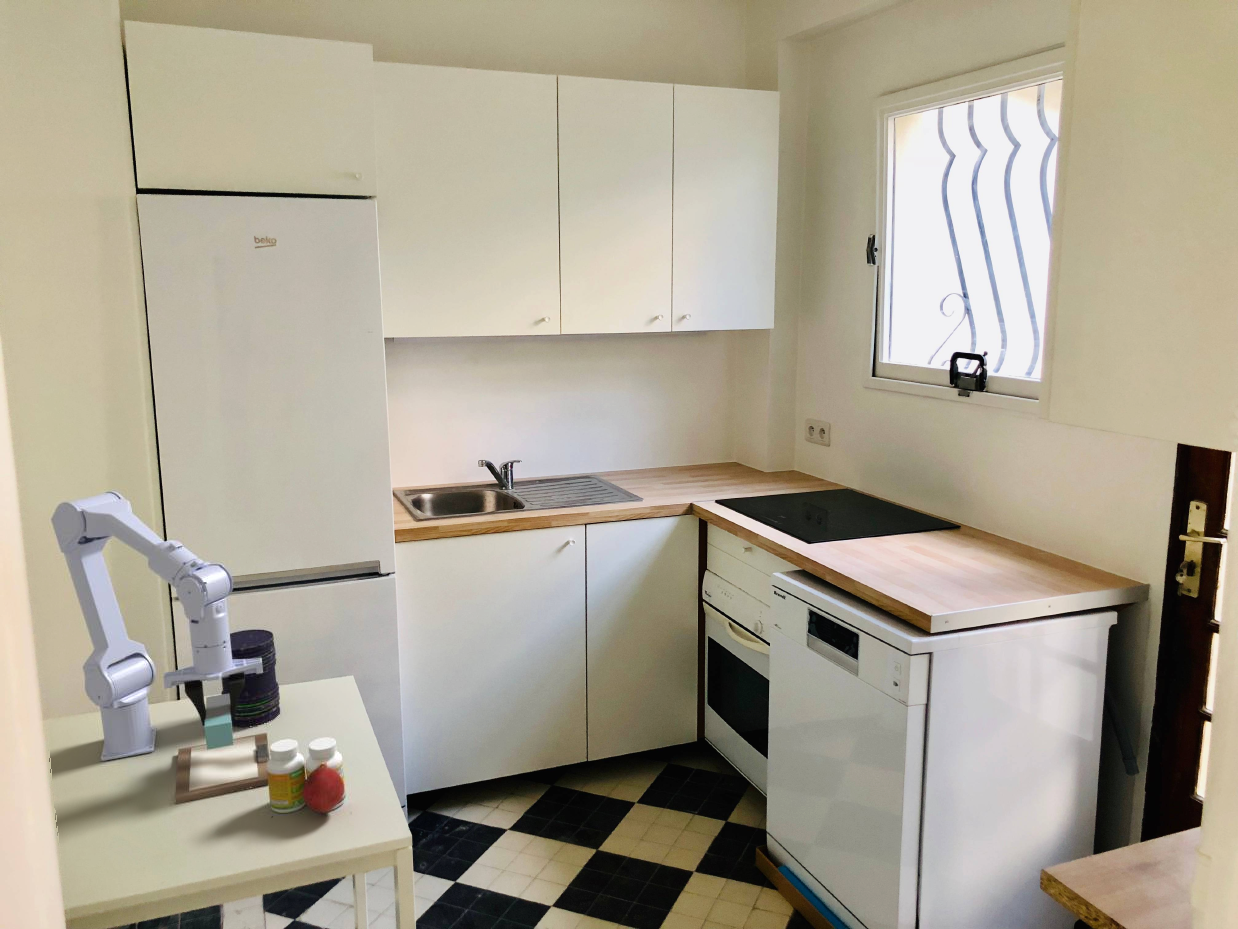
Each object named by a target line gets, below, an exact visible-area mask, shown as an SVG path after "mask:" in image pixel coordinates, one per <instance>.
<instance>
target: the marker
mask: <svg viewBox="0 0 1238 929" xmlns="http://www.w3.org/2000/svg"><path fill="white" fill-rule="evenodd" d="M205 707H206V719H205V726H204V734H205V744H207V750H208V749H214V748H219V747H225V746H230V745H233V739H234V733H233V727H232V721H231V714H230V694H223V695H221V694H218V695H211V696H206V698H205Z"/></svg>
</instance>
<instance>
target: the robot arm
mask: <svg viewBox="0 0 1238 929" xmlns="http://www.w3.org/2000/svg"><path fill="white" fill-rule="evenodd" d="M50 521H51V524H52V527H53V531H54V534H55V537H56V540H57V543H58V546H59V549H60V552H61V553H63V555H64V558H65V561H66V565H67V567H68V571H69V574H70V578H71V580H72V584H73V587H74V590H75V593H76V596H77V599H78V602H79V605H80V608H81V609H80V610H81V612H82V616H83V619H84V622H85V624H86V627H87V631H88V633H89V636H90V640H91V643H92V646H93V651H92V652H91V654H89V656H88V658H86V660H85V662H84V663H83V665H82V670H83V672H84V678H85V679H84V690H85V693H86V696H87V698H88V699H89V700H90V701H91V702H92V703H93V704H95V705H96V706H99V710H100V717H101V725H102V732H103V741H104V744H103V747H102V752H101V756H100V761H102V762H103V761H104V762H105V761H108V760H115V759H119V758H120V759H121V758H125V757H131V756H137V755H141V754H142V755H143V754H148V753H152V752H154V750H155V745H156V736H157V726H151V718H150V717H151V716H150V710H149V701H148V694H149V693H151V686H152V685H153V684H154V683H155V680H156V678H157V669H156V665H155V662H154V661H153V660H152V658H151V657H150V656H149V654H148V653H147V651H146V647H145V645H144V644H143V643H140V642H138V641H135V640H132V639H130V638H129V635H128V632H127V629H126V625H125V622H124V619H123V617H122V616H123V615H122V613H121V611H120V610H121V609H120V607H119V603H118V601H117V597H116V593H115V591H114V587H113V584H112V581H111V577H110V575H109V572H108V568H107V565H106V563H105V559H104V555H103V549H104V547H105V546H106V544H107V542H108V541H109V540H111V538H116V539H117V540H119V541H121V542H122V543H123V544H125V545H127V546H128V547H130V548H131V549H133V550H135V551H137V552H138V553H139V554H141V555H143V556H144V557H146V558H147V566H148V568H149V570H151V572H153V573H154V574H156V575H157V576H159V578H161V579H163V580H164V581H165V582H167V583H168V584H169V585H170V586H172V587H173V588H174V589H175V592H176V596H177V598H178V601H179V602H180V604H181V605H182V607H183V611H184V613H183V614H184V615H185V618H186V619H188V627H189V635H190V644H191V653H192V662H193V665H192V666H187V667H184V668H180V669H177V670H173V671H168V672H163V686H164V689H166V690H167V689H171V688H173V687H174V686H180V685H184V693H185V694H186V697H188V699H189V700H190V701H191V703H192V704H193V706H194V707H195V709H196V711H197V713H198V715H199V719H200V721H201V724H202V727H205V719H206V701H205V695H204V685H203V682H205V681H207V682H211V681H218V680H222V678H225V677H228V686H229V694H230V714H231V721H235V720H236V708H237V703H238V700H239V696H240V693H241V691H242V689H243V686H244V683H245V676H244V674H250V673H256V674H259V673H263V667H262V658H256V659H237V660H232V653H231V643H230V634H231V633H230V624H229V623H230V622H229V615H228V614H229V612H228V603H227V597H229V596H230V595H231V593H232V592H233V588H234V580H233V576H232V574H231V573H230V571H229V570H228V569H227V568H226V567H225V566H224V564H222V563H219V562H213V563H211V562H209V561H204V560H203V559H201V558H200V557H198V556H196V554H194V553H193V552H191V551H190V550H188V548H186V547H184V545H183V543H181V542H180V541H178V540H173V539H171V540H166V541H164V540H163V539H162V538H161V537H160V536H159V535H157V534H156V533H155V532H154V531H153V530H152V529H151V528H149V527H148V526H147V525H146V524H145V523H144V522H143V521H141V519H139V518H138V517H137V516H136V515H135V514H134V513H133V509H132V505H131V502H130V500H128V499H125V498H124V496H122V494H121V493H119V492H117V491H114V490H110V491H106V492H105V493H102V494H101V493H100V494H96V495H92V496H88V497H85V498H80V499H79V498H78V499H75V500H72V501H63V502H61V503H59V504H58V505H57V506H56V508H55V510H54V512H53V514H52V516H51V518H50Z"/></svg>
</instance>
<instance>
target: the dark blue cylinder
mask: <svg viewBox="0 0 1238 929" xmlns="http://www.w3.org/2000/svg"><path fill="white" fill-rule="evenodd" d="M274 641H275V639H274V633H273V632H272V631H270V630H266V629H259V628H257V629H246V630H244V629H243V630H239V631H236V632H235V631H234V632H232V633H230V643H231V653H232V660H237V659H256V658H262V667H263V673H259V674H256V673H250V674H244V676H245V683H244V686H243V689H242V691H241V693H240V696H239V700H238V703H237V708H236V720H235V721H232V728H235V727H237V728H238V729H246V728H245V727H249V728H251V727H250V726H255V727H258V726H257V725H260V726H262V724H263V725H265V724H264V723H266V724H268V723H270V722H272V721H274V720H276V719H277V718H278V717H279V716H280V714H281V707H280V704H281V703H280V696H281V695H280V687H279V683H278V681H277V677H276V676H277V675H276V665H277V658H276V656H277V655H276V654H277V652H276V647H275V642H274ZM221 686H222V688H221V689H222V691H221V694H220V695H223V694H229V686H228V677H225V678H221ZM278 715H279V716H278ZM277 716H278V717H277ZM276 717H277V718H276ZM275 718H276V719H275ZM273 719H274V720H273ZM271 720H272V721H271ZM269 721H270V722H269ZM267 722H268V723H267ZM239 727H241V728H239ZM243 727H244V728H243Z"/></svg>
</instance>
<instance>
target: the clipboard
mask: <svg viewBox="0 0 1238 929" xmlns="http://www.w3.org/2000/svg"><path fill="white" fill-rule="evenodd" d="M177 752H178V753H177V754H178V755H177V763H176V778H175V788H174V789H175V790H174V791H175V792H174V802H175V804H181V803H186V802H191V801H195V800H200V799H205V798H209V797H215V796H218V795H219V796H220V795H224V794H230V793H233V792H232V791H235V792H239V791H238V790H240V791H243V790H242V789H245V790H248V789H247V788H250V787H254V788H258V787H257V786H259V787H263V785H264V786H268V776H267V763H268V761H269V760H270V759H271V756H270V747H269V741H268V733H267V732H262V733H258V734H253V735H252V734H251V735H248V736H247V735H245V736H240V737H235V738H233V745H230V746H225V747H219V748H214V749H208V750H207V744H206V743H203V744H199V745H198V744H197V745H193V746H187V747H181V748H178V751H177ZM250 789H251V788H250ZM229 792H230V793H229Z"/></svg>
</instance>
